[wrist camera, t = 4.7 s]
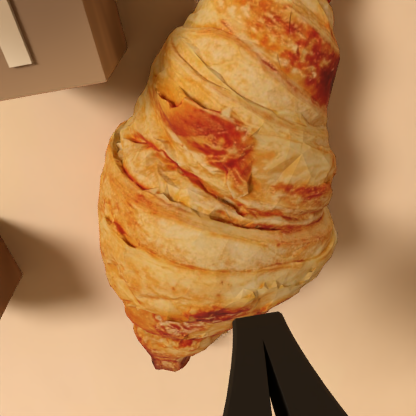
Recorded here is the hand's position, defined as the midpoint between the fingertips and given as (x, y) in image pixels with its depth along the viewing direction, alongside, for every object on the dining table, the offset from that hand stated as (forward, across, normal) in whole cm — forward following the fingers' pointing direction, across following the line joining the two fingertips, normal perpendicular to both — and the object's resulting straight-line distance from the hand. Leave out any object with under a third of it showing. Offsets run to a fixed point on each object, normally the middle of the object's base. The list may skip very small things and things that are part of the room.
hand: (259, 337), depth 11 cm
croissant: (+9, 0, 0) cm, 9 cm away
